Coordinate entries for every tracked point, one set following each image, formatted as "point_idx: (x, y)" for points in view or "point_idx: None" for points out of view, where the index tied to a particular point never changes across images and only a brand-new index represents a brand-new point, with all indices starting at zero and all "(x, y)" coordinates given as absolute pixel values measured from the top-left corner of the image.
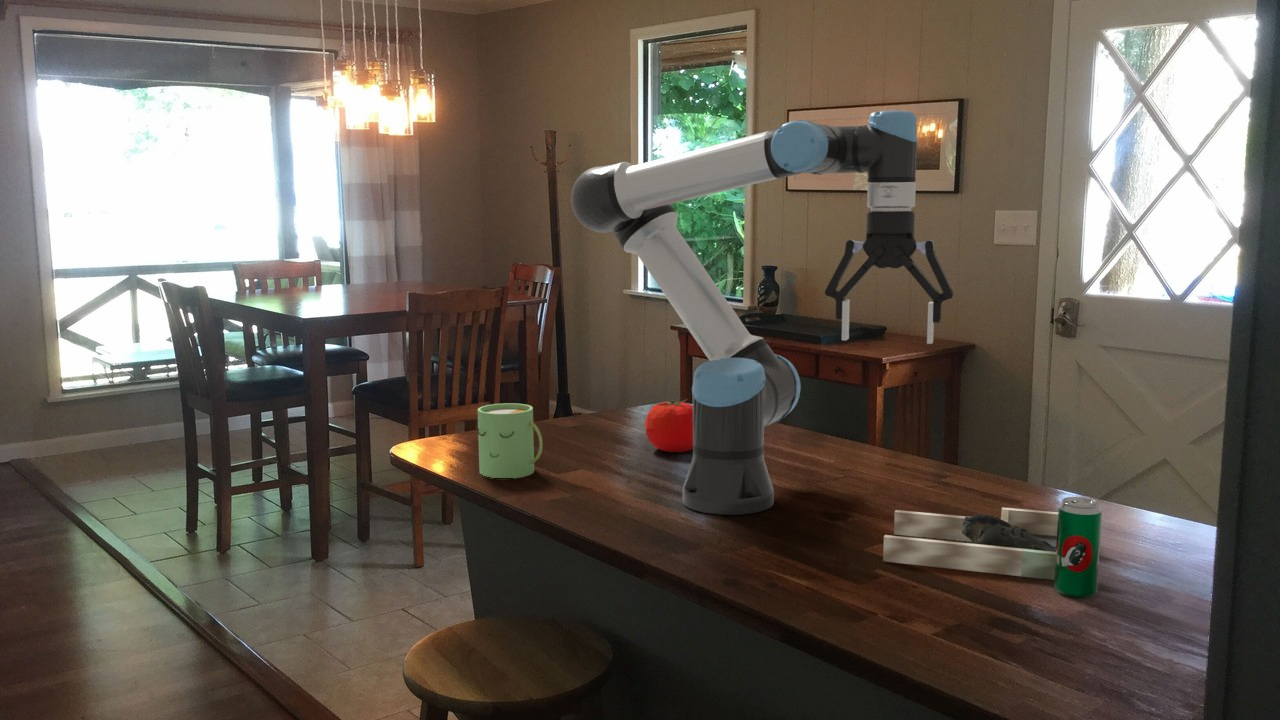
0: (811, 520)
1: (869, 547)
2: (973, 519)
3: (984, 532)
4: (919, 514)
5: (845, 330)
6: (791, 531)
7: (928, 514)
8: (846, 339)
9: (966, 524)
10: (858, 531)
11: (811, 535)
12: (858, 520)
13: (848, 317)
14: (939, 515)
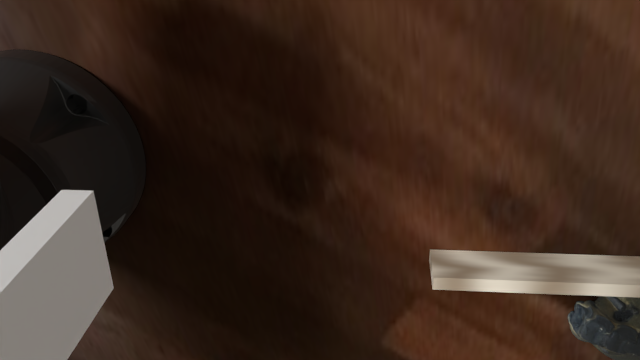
0: (253, 219)
1: (390, 333)
2: (598, 345)
3: (612, 355)
4: (485, 291)
5: (78, 333)
6: (236, 289)
7: (505, 289)
8: (109, 280)
9: (581, 340)
10: (358, 259)
11: (277, 300)
12: (347, 194)
13: (17, 325)
14: (528, 289)
